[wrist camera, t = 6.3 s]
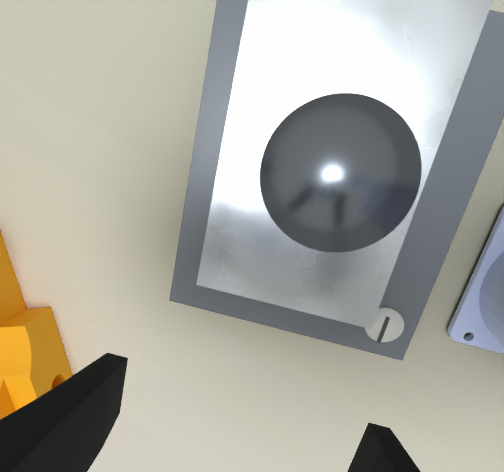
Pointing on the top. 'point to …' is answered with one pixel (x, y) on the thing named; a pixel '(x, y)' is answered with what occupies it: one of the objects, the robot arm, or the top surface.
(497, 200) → the top surface
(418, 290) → the base
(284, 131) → the cylinder
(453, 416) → the top surface
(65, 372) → the pipe clamp
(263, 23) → the pan
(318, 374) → the top surface
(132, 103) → the top surface
